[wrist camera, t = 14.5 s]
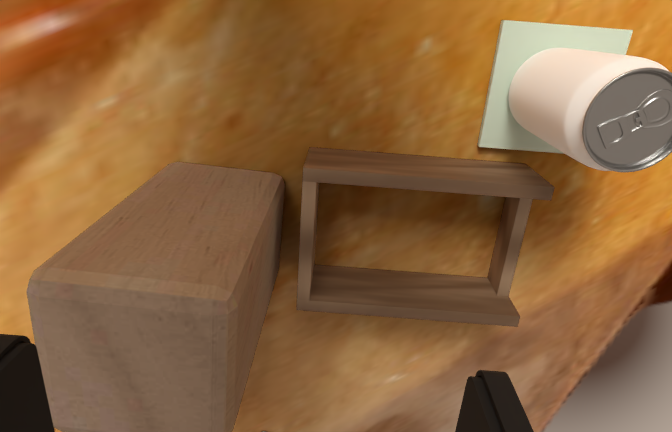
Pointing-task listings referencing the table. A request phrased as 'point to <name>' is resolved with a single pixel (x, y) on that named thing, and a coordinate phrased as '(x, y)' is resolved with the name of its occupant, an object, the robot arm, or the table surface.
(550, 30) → the sage mat
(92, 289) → the block
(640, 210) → the table surface
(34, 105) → the table surface
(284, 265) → the table surface
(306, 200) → the walnut box
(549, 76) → the can
